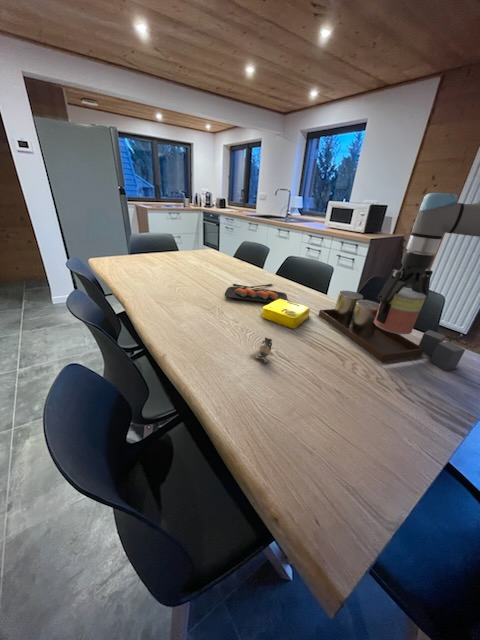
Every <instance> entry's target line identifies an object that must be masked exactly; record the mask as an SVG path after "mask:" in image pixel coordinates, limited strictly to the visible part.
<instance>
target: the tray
mask: <svg viewBox="0 0 480 640" xmlns="http://www.w3.org/2000/svg"><path fill="white" fill-rule="evenodd" d="M334 311H335V308H327V309H319V311H318V316H319V317H320V318H322V319H323V320H324V321H326V322H327V323H328V324H329V325H331V326H332V327H333V328H335V329H336V330H337V331H339V332H340V333H342V335H344V337H347V338H348V339H349V340H351V341H352V342H353V343H355V344H356V345H357V346H359V348H361V349H363V350H364V351H366V352H367V353H368V354H370V355H371V356H372V357H373V358H375V359H376V360H377V361H379V362H380V363H383V362H384V363H385V362H390V361H396V360H403V359H410V358H417V357H422V356H423V354H424V352H423V351H424V349H423V348H422V347H420V346H419V344H417V343H415V342H413V341H411V339H408V338H406V337H405V336H404V335H402V334H396V333H391V332H388V331H385V330H383V329H381V328H379V327H378V326H377V327H376V330H375V333H374V335H373V336H372V337H363V336H359V335H356V334H355V333H353V332H352V331H350V330H349V325H348V324H342V323H339V322H338V321H336V320H335V319H333V314H334Z"/></svg>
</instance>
